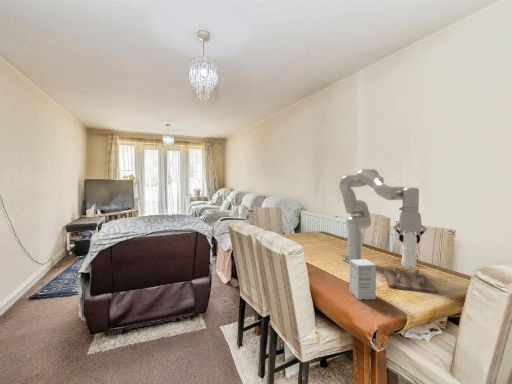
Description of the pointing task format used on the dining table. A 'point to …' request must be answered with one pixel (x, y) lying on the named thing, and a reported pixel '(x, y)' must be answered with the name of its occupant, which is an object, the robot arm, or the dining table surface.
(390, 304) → the dining table surface
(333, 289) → the dining table surface
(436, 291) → the peg stand
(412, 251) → the water bottle
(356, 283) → the supplement box
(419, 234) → the robot arm
